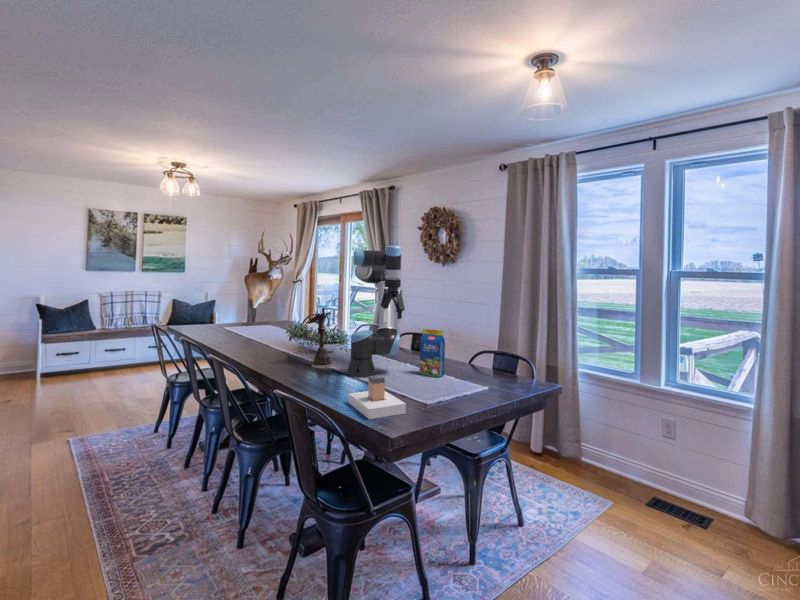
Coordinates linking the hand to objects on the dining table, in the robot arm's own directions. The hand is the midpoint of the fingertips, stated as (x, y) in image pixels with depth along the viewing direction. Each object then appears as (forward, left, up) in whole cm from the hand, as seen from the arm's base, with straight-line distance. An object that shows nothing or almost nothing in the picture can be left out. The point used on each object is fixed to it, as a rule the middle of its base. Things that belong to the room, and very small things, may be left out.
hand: (391, 323), depth 199 cm
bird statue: (-60, -18, -32) cm, 70 cm away
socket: (+22, -18, -32) cm, 42 cm away
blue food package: (-14, +32, -32) cm, 47 cm away
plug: (+22, -18, -32) cm, 42 cm away
